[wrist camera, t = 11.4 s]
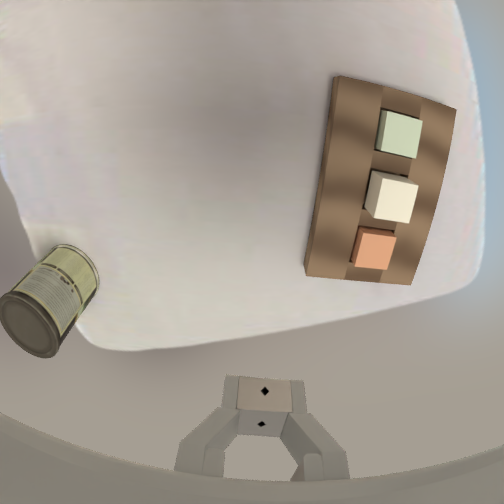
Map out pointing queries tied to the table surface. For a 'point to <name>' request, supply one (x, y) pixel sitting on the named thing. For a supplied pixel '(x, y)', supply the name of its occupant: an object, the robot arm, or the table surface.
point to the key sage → (398, 134)
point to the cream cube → (390, 197)
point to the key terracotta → (372, 247)
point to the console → (359, 173)
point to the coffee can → (49, 300)
